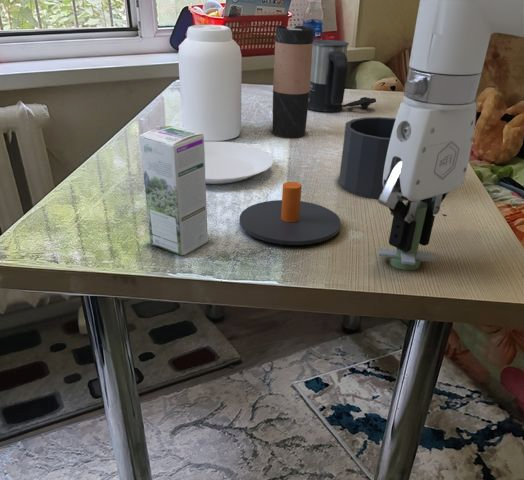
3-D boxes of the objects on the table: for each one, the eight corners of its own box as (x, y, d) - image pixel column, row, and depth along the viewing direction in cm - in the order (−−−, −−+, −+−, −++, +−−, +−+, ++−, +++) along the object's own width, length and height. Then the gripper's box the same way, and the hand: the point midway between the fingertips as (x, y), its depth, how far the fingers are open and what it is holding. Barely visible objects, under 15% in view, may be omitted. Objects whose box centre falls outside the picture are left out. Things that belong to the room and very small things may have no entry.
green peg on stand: (429, 253, 74) (442, 196, 69) (434, 278, 68) (449, 218, 63) (377, 248, 74) (386, 191, 70) (377, 272, 69) (388, 212, 64)
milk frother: (298, 106, 140) (302, 39, 131) (345, 100, 147) (352, 37, 138) (333, 119, 130) (340, 48, 122) (382, 111, 138) (392, 45, 129)
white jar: (252, 136, 116) (255, 28, 104) (204, 146, 110) (200, 31, 98) (218, 123, 124) (216, 21, 112) (171, 131, 117) (164, 23, 105)
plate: (198, 146, 109) (198, 135, 108) (292, 166, 101) (293, 153, 100) (131, 176, 94) (129, 163, 93) (235, 201, 87) (235, 187, 85)
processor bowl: (415, 175, 99) (426, 120, 94) (421, 202, 89) (433, 142, 83) (340, 169, 101) (347, 114, 95) (337, 195, 90) (344, 135, 84)
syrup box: (209, 242, 74) (206, 131, 66) (181, 257, 71) (173, 142, 62) (178, 231, 77) (170, 123, 68) (148, 245, 73) (137, 133, 64)
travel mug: (295, 140, 115) (302, 31, 103) (264, 134, 118) (268, 27, 106) (312, 132, 120) (321, 27, 108) (282, 126, 123) (287, 24, 111)
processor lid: (341, 212, 84) (346, 172, 81) (337, 253, 73) (343, 209, 69) (248, 203, 86) (249, 164, 82) (230, 243, 74) (230, 199, 71)
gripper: (417, 103, 52) (385, 273, 63) (515, 87, 60) (472, 240, 71) (362, 88, 57) (341, 248, 68) (459, 75, 65) (427, 221, 76)
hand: (408, 243), depth 70 cm, fingers closed on green peg on stand, 2 cm apart
